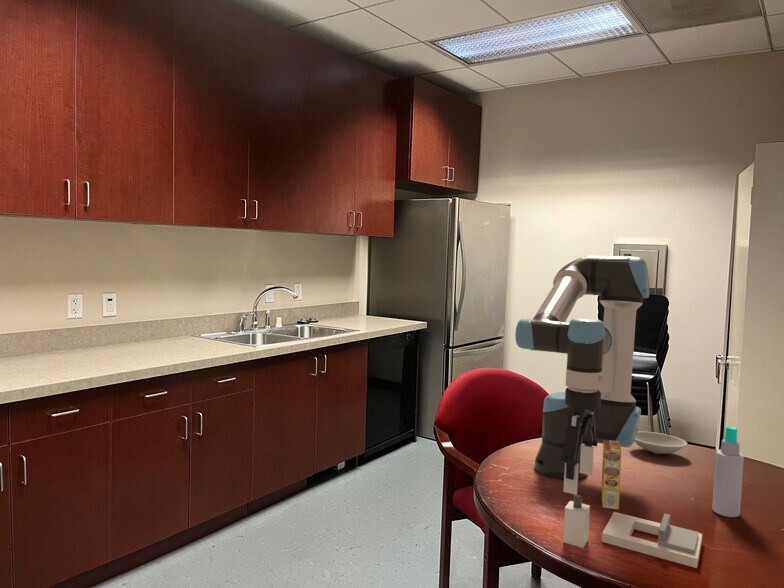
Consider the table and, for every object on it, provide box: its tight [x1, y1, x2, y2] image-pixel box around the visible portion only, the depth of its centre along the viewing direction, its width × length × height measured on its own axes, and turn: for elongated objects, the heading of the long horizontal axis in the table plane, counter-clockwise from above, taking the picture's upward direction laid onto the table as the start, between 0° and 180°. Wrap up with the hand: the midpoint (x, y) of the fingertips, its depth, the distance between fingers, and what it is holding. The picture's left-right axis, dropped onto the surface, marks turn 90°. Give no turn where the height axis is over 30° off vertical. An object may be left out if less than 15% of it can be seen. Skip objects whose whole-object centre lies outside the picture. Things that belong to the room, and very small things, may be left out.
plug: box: [562, 493, 591, 549], centre depth 128 cm, size 4×4×10 cm
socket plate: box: [601, 511, 703, 569], centre depth 129 cm, size 19×13×2 cm
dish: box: [634, 431, 688, 455], centre depth 188 cm, size 18×14×5 cm
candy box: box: [601, 440, 622, 510], centre depth 149 cm, size 9×4×15 cm, turn 162°
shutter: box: [657, 513, 699, 554], centre depth 126 cm, size 7×10×3 cm
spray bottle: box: [711, 425, 745, 518], centre depth 144 cm, size 6×6×22 cm
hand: (578, 482), depth 127 cm, fingers open, 13 cm apart
